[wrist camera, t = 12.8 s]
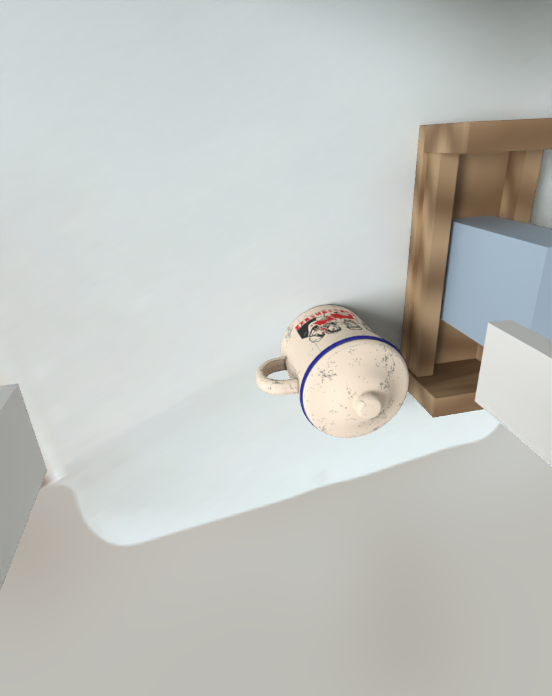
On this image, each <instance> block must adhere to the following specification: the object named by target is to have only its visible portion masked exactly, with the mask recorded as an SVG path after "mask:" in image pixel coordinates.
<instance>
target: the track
mask: <svg viewBox="0 0 552 696" xmlns="http://www.w3.org/2000/svg"><path fill="white" fill-rule="evenodd" d="M544 149H552V118H543V119H521V120H499V121H476V122H461V123H448V124H435V125H422V126H420V129H419V141H418V153H417V165H416V177H415V188H414V200H413V212H412V224H411V236H410V248H409V260H408V272H407V284H406V296H405V308H404V320H403V332H402V344H401V354H402V356H403V358H404V359H405V362H406V365H407V369H408V374H409V385H408V392H409V393H410V394H411V395H412V396H413V397H414V398H415V399H416V400H417V401H418V402H419V403H420V404H421V405H422V406H423V407H424V408H425V409H426V411H427V412H428V413H429V414H430V415H431V416H432V417H439V416H445V415H451V414H457V413H463V412H469V411H475V410H481V409H484V408H482V407H481V406H480V405H479V404H478V403H477V402H475V396H476V390H477V384H478V379H479V373H480V367H481V361H482V355H483V349H484V347H483V346H482V345H480V344H479V343H477V342H476V341H474V340H473V339H471V338H469V337H468V336H466V335H465V334H463V333H462V332H460V331H459V330H457V329H456V328H454V327H453V326H451V325H450V324H448V323H446V322H445V321H443V320H442V319H440V311H441V302H442V294H443V286H444V277H445V269H446V261H447V253H448V244H449V236H450V228H451V219H458V218H469V217H481V216H495V217H500V218H504V219H509V220H513V221H518V222H522V223H527V224H529V223H530V218H531V213H532V207H533V202H534V197H535V192H536V187H537V182H538V177H539V171H540V166H541V161H542V156H543V151H544Z"/></svg>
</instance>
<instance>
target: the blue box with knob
mask: <svg viewBox="0 0 552 696" xmlns="http://www.w3.org/2000/svg"><path fill="white" fill-rule="evenodd" d="M440 319H442V320H443V321H445V322H446V323H448V324H450V325H451V326H453V327H454V328H456V329H457V330H459V331H460V332H462V333H463V334H465V335H466V336H468V337H469V338H471V339H473V340H474V341H476V342H477V343H479V344H480V345H482V346H483V347H484V344H485V338H486V332H487V326H488V322H496V321H504V320H513V321H514V322H516V323H518V324H520V325H522V326H524V327H526V328H528V329H530V330H532V331H534V332H536V333H538V334H540V335H541V336H543V337H545V338H547V339H549V340H551V341H552V229H549V228H545V227H540V226H536V225H531V224H527V223H522V222H518V221H513V220H509V219H504V218H500V217H495V216H481V217H469V218H458V219H451V228H450V236H449V244H448V253H447V261H446V269H445V277H444V286H443V294H442V302H441V311H440Z"/></svg>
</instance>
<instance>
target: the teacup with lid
mask: <svg viewBox="0 0 552 696" xmlns="http://www.w3.org/2000/svg"><path fill="white" fill-rule="evenodd" d="M282 370H286V372H287V374H288V376H289V378H290V379H288V380H273V379H269V378H267V376H268V375H269V374H271V373H274V372H277V371H282ZM256 382H257V385H258V387H259V388H260V389H261V390H262V391H264V392H266V393H270V394H275V395H286V394H293V393H297V394H298V396H299V398H300V403H301V407H302V410H303V412H304V414H305V416H306V418H307V419H308V420H309V422H310V423H311V424H312V425H313V426H315V427H316V428H317V429H319V430H321V431H322V432H324V433H326V434H329V435H331V436H335V437H341V438H352V437H359V436H363V435H366V434H369V433H371V432H373V431H375V430H377V429H379V428H380V427H382V426H383V425H385V424H386V423H387V422H388V421H390V420H391V419H392V418H393V417H394V415H395V414H396V413H397V412H398V410H399V409H400V407H401V406H402V404H403V402H404V400H405V397H406V395H407V391H408V385H409V374H408V369H407V365H406V362H405V359H404V358H403V356H402V354H401V353H400V351H399V350H398V349H397V348H396V347H395V346H394V345H392V344H391V343H389V342H388V341H386V340H384V339H382V338H381V337H380V336H378V335H377V334H376V333H375V332H374V331H373V330H372V329H371V328H370V327H369V326H368V325H367V324H366V323H364V322H363V321H362V320H361V319H360V318H359V317H358V316H357V315H356V314H355V313H353V312H352V311H350V310H348V309H346V308H344V307H341V306H336V305H323V306H318V307H315V308H312V309H310V310H308V311H306V312H304V313H302V314H301V315H300V316H298V317H297V318H296V319H295V320H294V321H293V322H292V323H291V325H290V326H289V328H288V329H287V331H286V333H285V335H284V337H283V341H282V345H281V357H279V358H274V359H271V360H268V361H266V362H264V363H263V364H262V365H260V367H259V368H258V370H257V372H256Z"/></svg>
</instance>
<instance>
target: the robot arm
mask: <svg viewBox="0 0 552 696" xmlns="http://www.w3.org/2000/svg"><path fill="white" fill-rule="evenodd" d="M475 402H477V403H478V404H479V405H480V406H481V407H482V408H484V409H485V410H486V411H487V412H488V413H489V414H491V415H492V416H493V417H494V418H495V419H497V420H498V421H499V422H500V423H501V424H503V425H504V426H505V427H506V428H507V429H508V430H510V431H511V432H512V433H513V434H514V435H515V436H517V437H518V438H519V439H520V440H521V441H523V442H524V443H525V444H526V445H527V446H528V447H529V448H531V449H532V450H533V451H534V452H535V453H537V454H538V455H539V456H540V457H541V458H543V459H544V460H545V461H546V462H547V463H548V464H550V465H551V466H552V341H551V340H549V339H547V338H545V337H543V336H541V335H540V334H538V333H536V332H534V331H532V330H530V329H528V328H526V327H524V326H522V325H520V324H518V323H516V322H514V321H513V320H504V321H496V322H488V326H487V332H486V338H485V344H484V349H483V355H482V361H481V367H480V373H479V379H478V384H477V390H476V396H475ZM46 472H47V469H46V466H45V463H44V460H43V457H42V454H41V451H40V448H39V445H38V442H37V439H36V436H35V433H34V430H33V427H32V424H31V421H30V418H29V415H28V412H27V409H26V406H25V403H24V400H23V397H22V394H21V391H20V388H19V385H18V384H13V385H5V386H0V590H1V588H2V585H3V583H4V580H5V578H6V575H7V572H8V570H9V567H10V565H11V562H12V559H13V557H14V554H15V552H16V549H17V547H18V544H19V541H20V539H21V536H22V534H23V531H24V529H25V526H26V523H27V521H28V518H29V516H30V513H31V510H32V508H33V505H34V503H35V500H36V497H37V495H38V492H39V490H40V487H41V485H42V482H43V480H44V477H45V474H46Z"/></svg>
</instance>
